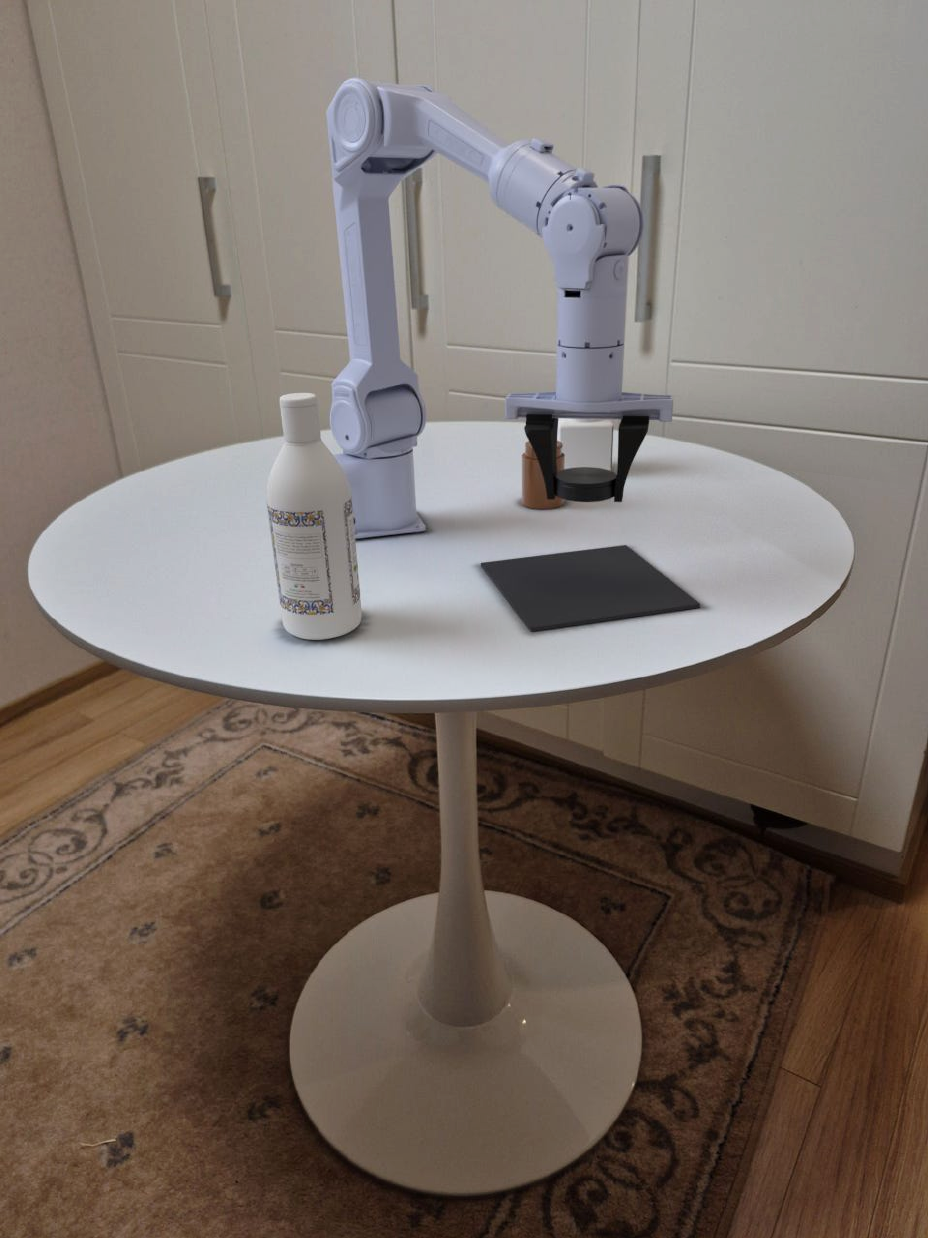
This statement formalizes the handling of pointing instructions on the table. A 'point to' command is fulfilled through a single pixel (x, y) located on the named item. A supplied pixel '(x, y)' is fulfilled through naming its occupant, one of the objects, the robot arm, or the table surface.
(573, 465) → the medicine bottle
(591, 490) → the jar lid
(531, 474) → the jar
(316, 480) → the bath foam
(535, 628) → the mat
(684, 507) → the table surface
